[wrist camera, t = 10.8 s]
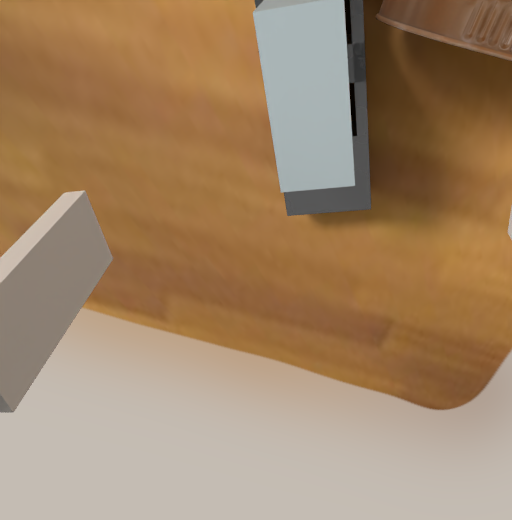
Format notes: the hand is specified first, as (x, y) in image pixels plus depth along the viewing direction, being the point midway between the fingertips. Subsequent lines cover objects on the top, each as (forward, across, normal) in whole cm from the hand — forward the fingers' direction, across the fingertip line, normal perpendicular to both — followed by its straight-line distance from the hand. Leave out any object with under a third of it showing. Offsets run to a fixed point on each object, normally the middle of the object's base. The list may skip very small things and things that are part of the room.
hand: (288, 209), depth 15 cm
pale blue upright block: (+20, 0, 0) cm, 21 cm away
